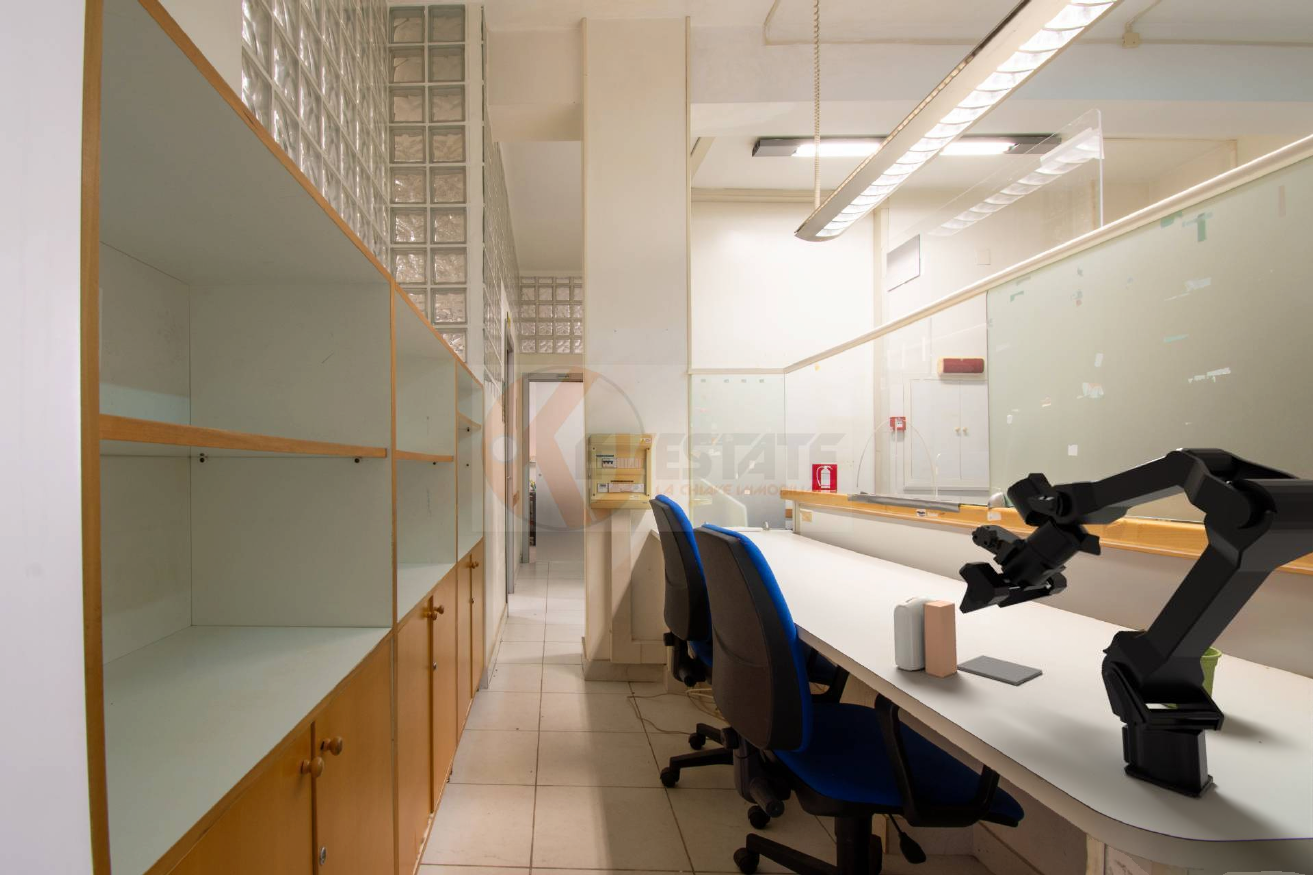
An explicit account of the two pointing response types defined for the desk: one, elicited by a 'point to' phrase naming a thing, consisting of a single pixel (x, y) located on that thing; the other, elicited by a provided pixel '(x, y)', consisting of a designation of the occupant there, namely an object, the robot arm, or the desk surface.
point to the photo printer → (910, 633)
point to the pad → (999, 669)
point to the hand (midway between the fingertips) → (980, 608)
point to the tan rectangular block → (940, 638)
